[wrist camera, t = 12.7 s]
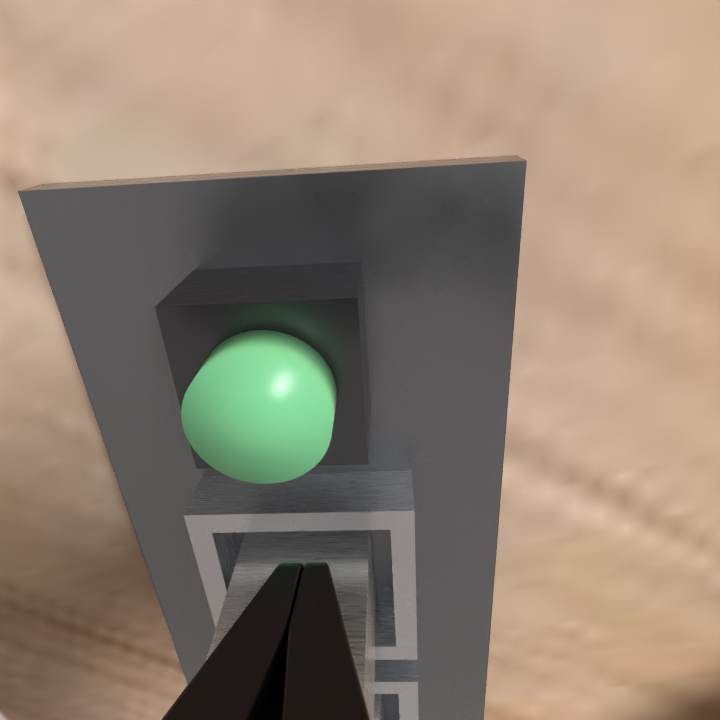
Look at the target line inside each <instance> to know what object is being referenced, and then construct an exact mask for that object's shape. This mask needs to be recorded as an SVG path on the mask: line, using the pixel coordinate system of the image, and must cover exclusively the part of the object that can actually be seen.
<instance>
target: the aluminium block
mask: <svg viewBox="0 0 720 720" xmlns="http://www.w3.org/2000/svg"><path fill="white" fill-rule="evenodd" d="M308 562H326V563H327V564H328V565H329V568H330V572H331V575H332V579H333V583H334V587H335V590H336V594H337V598H338V602H339V605H340V609H341V613H342V616H343V620H344V624H345V628H346V631H347V635H348V639H349V642H350V646H351V650H352V654H353V657H354V661H355V665H356V669H357V672H358V676H359V680H360V683H361V687H362V691H363V695H364V698H365V702H366V706H367V710H368V713H369V717H370V720H374V696H375V618H376V582H375V569H374V556H373V542H372V530H343V531H287V532H245V535H244V538H243V542H242V545H241V548H240V551H239V555H238V558H237V561H236V564H235V568H234V571H233V574H232V577H231V580H230V584H229V587H228V590H227V593H226V597H225V600H224V603H223V606H222V610H221V613H220V616H219V619H218V623H217V626H216V629H215V632H214V636H213V639H212V642H211V645H210V649H209V652H208V655H207V658H206V660H207V659H208V657H209V656H210V655H211V653H212V652H213V651H214V649H215V648H216V647H217V645H218V644H219V643H220V641H221V640H222V639H223V637H224V636H225V635H226V633H227V632H228V631H229V629H230V628H231V627H232V625H233V624H234V623H235V621H236V620H237V619H238V617H239V616H240V615H241V613H242V612H243V611H244V609H245V608H246V607H247V605H248V604H249V603H250V601H251V600H252V599H253V598H254V596H255V595H256V594H257V592H258V591H259V590H260V588H261V587H262V586H263V584H264V583H265V582H266V580H267V579H268V578H269V576H270V575H271V574H272V572H273V571H274V570H275V568H276V567H277V566H278V565H279V564H281V563H302V564H303V565H305V564H306V563H308Z"/></svg>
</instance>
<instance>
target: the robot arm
mask: <svg viewBox="0 0 720 720" xmlns="http://www.w3.org/2000/svg"><path fill="white" fill-rule="evenodd" d="M162 720H370V717H369V713H368V710H367V706H366V702H365V698H364V695H363V691H362V687H361V683H360V680H359V676H358V672H357V669H356V665H355V661H354V657H353V654H352V650H351V646H350V642H349V639H348V635H347V631H346V628H345V624H344V620H343V616H342V613H341V609H340V605H339V602H338V598H337V594H336V590H335V587H334V583H333V579H332V575H331V572H330V568H329V565H328V564H327V563H326V562H308V563H306V564H305V565H303V564H302V563H281V564H279V565H278V566H277V567H276V568H275V570H274V571H273V572H272V574H271V575H270V576H269V578H268V579H267V580H266V582H265V583H264V584H263V586H262V587H261V588H260V590H259V591H258V592H257V594H256V595H255V596H254V598H253V599H252V600H251V601H250V603H249V604H248V605H247V607H246V608H245V609H244V611H243V612H242V613H241V615H240V616H239V617H238V619H237V620H236V621H235V623H234V624H233V625H232V627H231V628H230V629H229V631H228V632H227V633H226V635H225V636H224V637H223V639H222V640H221V641H220V643H219V644H218V645H217V647H216V648H215V649H214V651H213V652H212V653H211V655H210V656H209V657H208V659H207V660H206V661H205V663H204V664H203V665H202V667H201V668H200V669H199V671H198V672H197V673H196V675H195V676H194V677H193V679H192V680H191V681H190V683H189V684H188V685H187V687H186V688H185V689H184V691H183V692H182V693H181V695H180V696H179V697H178V699H177V700H176V701H175V703H174V704H173V705H172V707H171V708H170V709H169V711H168V712H167V713H166V715H165V716H164V717H163V719H162Z"/></svg>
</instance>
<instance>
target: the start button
mask: <svg viewBox="0 0 720 720" xmlns="http://www.w3.org/2000/svg"><path fill="white" fill-rule="evenodd" d="M336 402H337V388H336V382H335V379H334V376H333V374H332V371H331V369H330V367H329V366H328V364H327V363H326V361H325V360H324V359H323V358H322V356H321V355H320V354H319V353H318V352H317V351H316V350H315V349H313V348H312V347H311V346H310V345H308V344H307V343H305V342H304V341H302V340H300V339H298V338H296V337H294V336H291V335H288V334H285V333H282V332H278V331H271V330H254V331H247V332H243V333H239V334H237V335H234V336H232V337H230V338H228V339H226V340H224V341H223V342H222V343H220V344H219V345H218V346H217V347H216V348H215V349H214V350H213V351H212V352H211V354H210V355H209V356H208V358H207V359H206V361H205V362H204V364H203V365H202V367H201V369H200V370H199V372H198V373H197V375H196V376H195V378H194V379H193V381H192V382H191V384H190V386H189V387H188V389H187V391H186V393H185V395H184V399H183V402H182V409H181V419H182V425H183V429H184V432H185V435H186V437H187V439H188V441H189V443H190V444H191V446H192V447H193V449H194V450H195V451H196V453H197V454H198V455H199V456H200V457H201V458H202V459H203V460H204V461H205V462H206V463H207V464H209V465H210V466H211V467H213V468H214V469H216V470H218V471H219V472H221V473H223V474H225V475H227V476H229V477H232V478H235V479H237V480H241V481H245V482H249V483H257V484H273V483H281V482H286V481H289V480H292V479H295V478H297V477H299V476H302V475H303V474H305V473H307V472H308V471H310V470H311V469H312V468H313V467H315V466H316V465H317V464H318V463H319V462H320V460H321V459H322V458H323V456H324V455H325V453H326V451H327V449H328V447H329V444H330V441H331V436H332V429H333V423H334V416H335V409H336Z"/></svg>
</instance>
